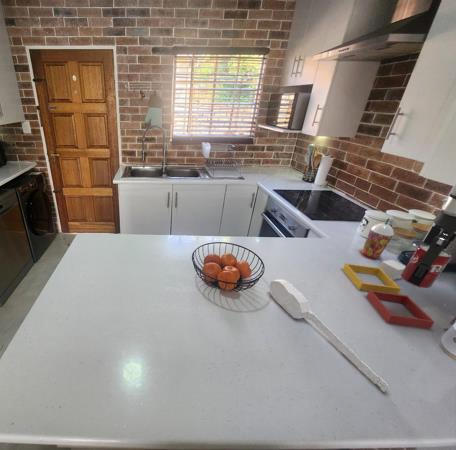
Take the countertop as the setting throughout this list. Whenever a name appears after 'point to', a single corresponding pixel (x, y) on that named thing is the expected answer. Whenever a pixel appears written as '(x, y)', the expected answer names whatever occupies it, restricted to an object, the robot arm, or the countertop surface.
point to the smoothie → (377, 240)
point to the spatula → (316, 323)
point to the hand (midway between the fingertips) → (416, 279)
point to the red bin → (420, 320)
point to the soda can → (433, 272)
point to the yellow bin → (389, 288)
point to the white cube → (392, 269)
